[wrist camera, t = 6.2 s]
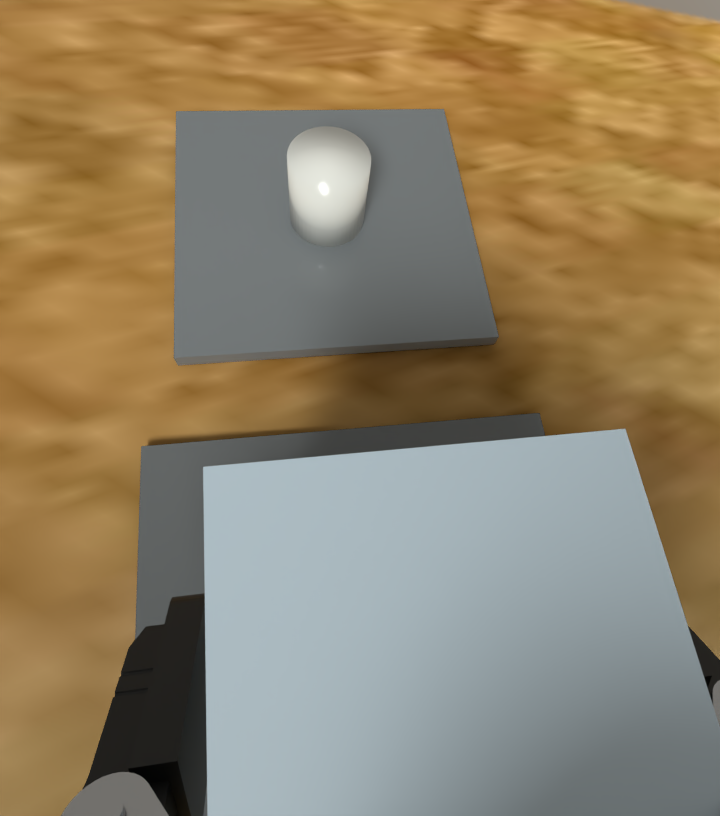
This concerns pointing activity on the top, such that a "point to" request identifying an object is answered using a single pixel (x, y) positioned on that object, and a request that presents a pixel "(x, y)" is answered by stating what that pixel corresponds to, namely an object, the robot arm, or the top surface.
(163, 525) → the mat
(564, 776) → the light gray block
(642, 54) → the top surface
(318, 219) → the gray plate with knob
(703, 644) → the robot arm
